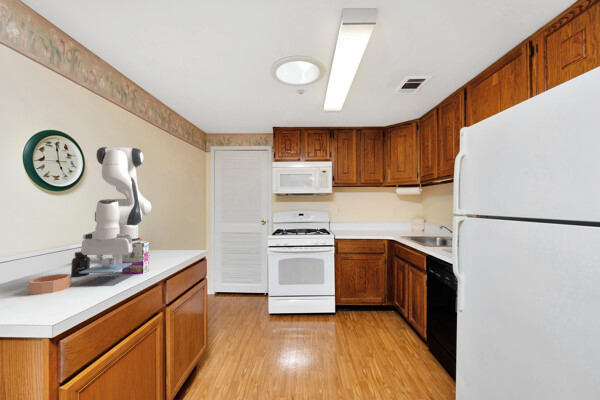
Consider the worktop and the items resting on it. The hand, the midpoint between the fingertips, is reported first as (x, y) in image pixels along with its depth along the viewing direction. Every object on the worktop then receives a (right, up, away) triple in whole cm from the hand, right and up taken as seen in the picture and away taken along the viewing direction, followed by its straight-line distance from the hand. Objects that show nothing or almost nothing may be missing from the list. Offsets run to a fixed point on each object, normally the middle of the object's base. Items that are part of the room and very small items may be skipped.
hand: (107, 263), depth 114 cm
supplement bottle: (-19, -8, +7) cm, 22 cm away
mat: (0, -8, -1) cm, 8 cm away
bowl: (-14, -8, -12) cm, 20 cm away
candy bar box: (+4, -8, +13) cm, 16 cm away
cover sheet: (0, -2, 0) cm, 2 cm away
